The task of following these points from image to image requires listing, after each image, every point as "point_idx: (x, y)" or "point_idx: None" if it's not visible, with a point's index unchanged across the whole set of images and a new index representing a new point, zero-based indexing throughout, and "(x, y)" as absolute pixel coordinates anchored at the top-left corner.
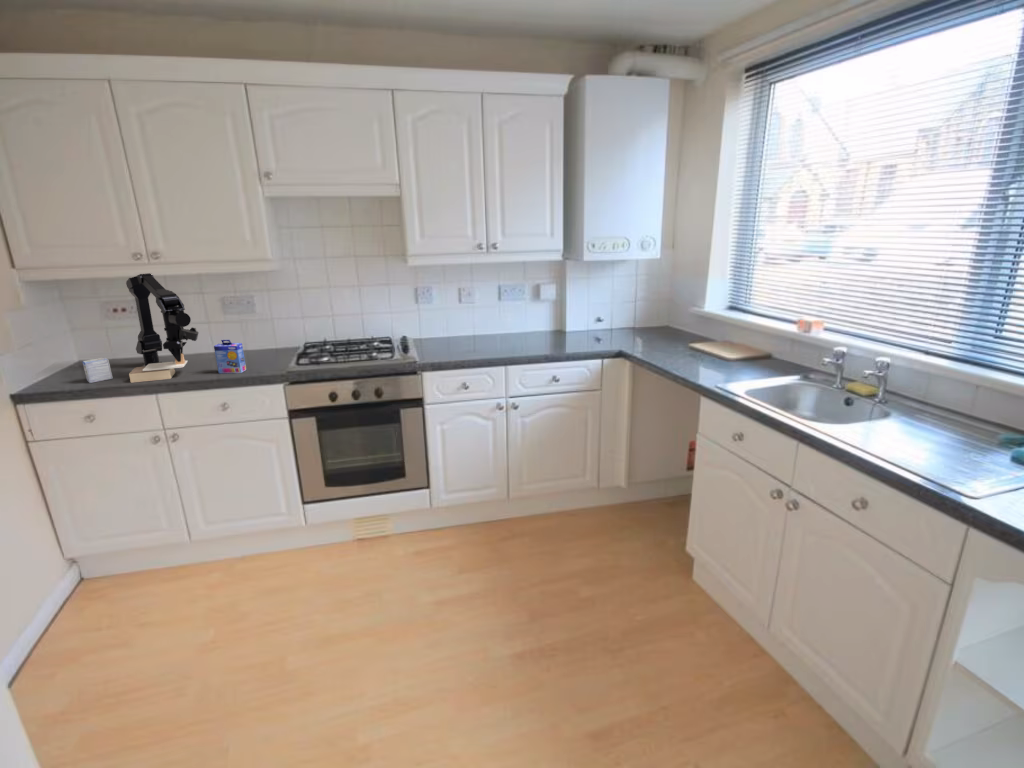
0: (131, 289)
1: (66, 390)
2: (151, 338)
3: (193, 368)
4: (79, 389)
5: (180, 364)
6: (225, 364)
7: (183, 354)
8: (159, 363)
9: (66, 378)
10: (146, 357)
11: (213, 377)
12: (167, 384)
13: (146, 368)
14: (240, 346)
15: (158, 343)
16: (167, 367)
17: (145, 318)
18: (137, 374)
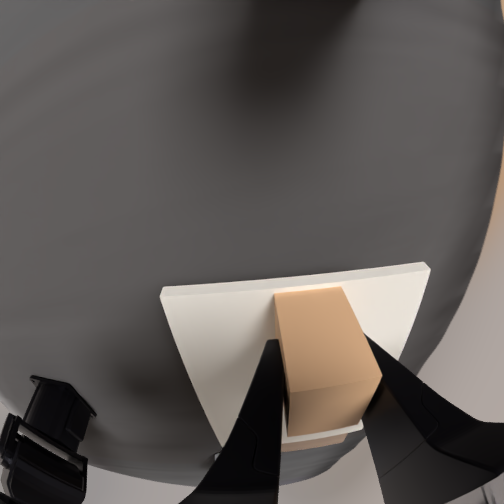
0: None
1: (324, 462)
2: (48, 500)
3: (99, 229)
4: (332, 453)
5: (356, 309)
6: None
7: (289, 376)
8: (231, 423)
9: (201, 478)
10: (81, 439)
11: (454, 40)
12: (466, 276)
13: (342, 429)
14: None
15: (26, 459)
16: (397, 359)
17: None
18: None
